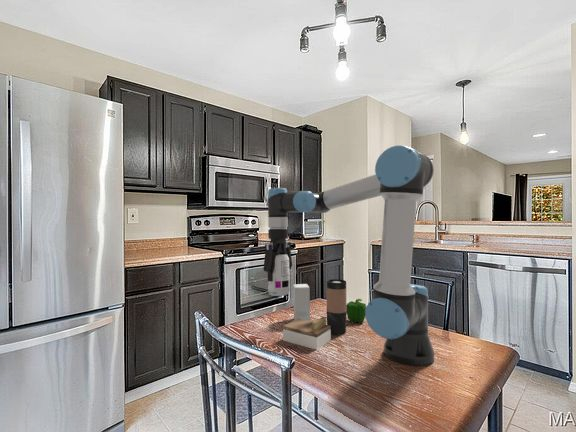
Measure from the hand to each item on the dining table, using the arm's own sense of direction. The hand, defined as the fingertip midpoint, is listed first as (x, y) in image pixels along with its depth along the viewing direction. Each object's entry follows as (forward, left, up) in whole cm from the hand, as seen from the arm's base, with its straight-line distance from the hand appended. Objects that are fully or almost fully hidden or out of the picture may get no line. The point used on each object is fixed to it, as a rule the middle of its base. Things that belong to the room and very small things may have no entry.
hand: (278, 287), depth 119 cm
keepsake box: (-12, 0, -18) cm, 22 cm away
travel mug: (-17, -14, -18) cm, 29 cm away
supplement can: (0, 0, -3) cm, 3 cm away
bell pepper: (-18, -31, -18) cm, 40 cm away
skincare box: (+1, -17, -18) cm, 25 cm away
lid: (-13, 0, -13) cm, 18 cm away
